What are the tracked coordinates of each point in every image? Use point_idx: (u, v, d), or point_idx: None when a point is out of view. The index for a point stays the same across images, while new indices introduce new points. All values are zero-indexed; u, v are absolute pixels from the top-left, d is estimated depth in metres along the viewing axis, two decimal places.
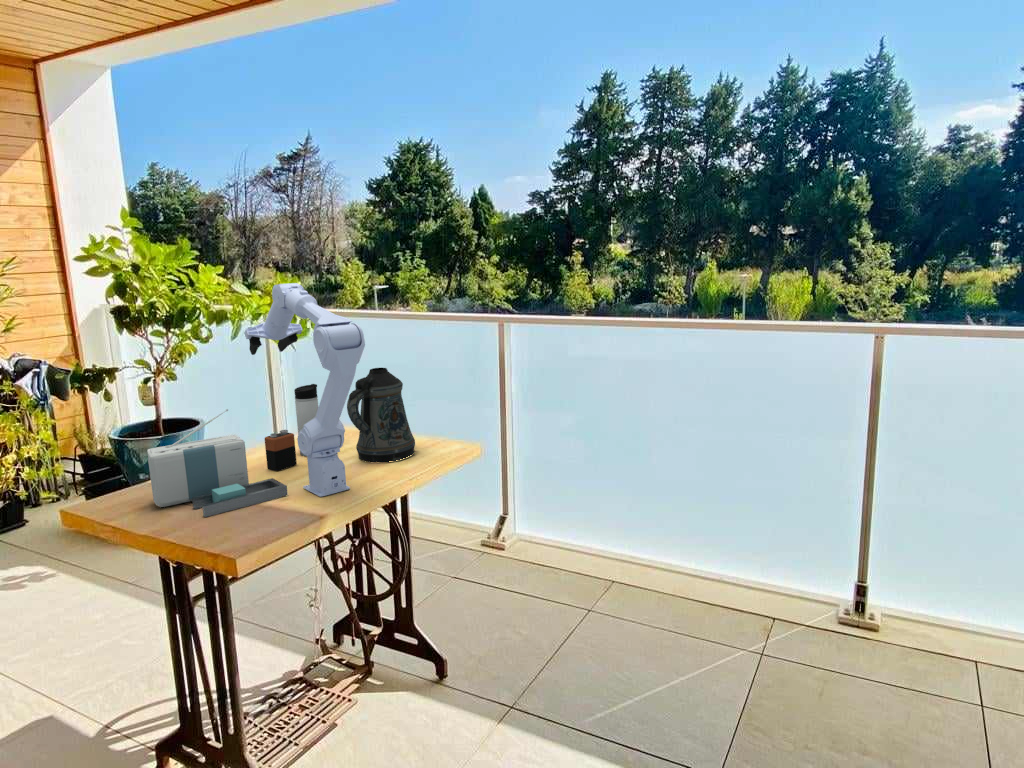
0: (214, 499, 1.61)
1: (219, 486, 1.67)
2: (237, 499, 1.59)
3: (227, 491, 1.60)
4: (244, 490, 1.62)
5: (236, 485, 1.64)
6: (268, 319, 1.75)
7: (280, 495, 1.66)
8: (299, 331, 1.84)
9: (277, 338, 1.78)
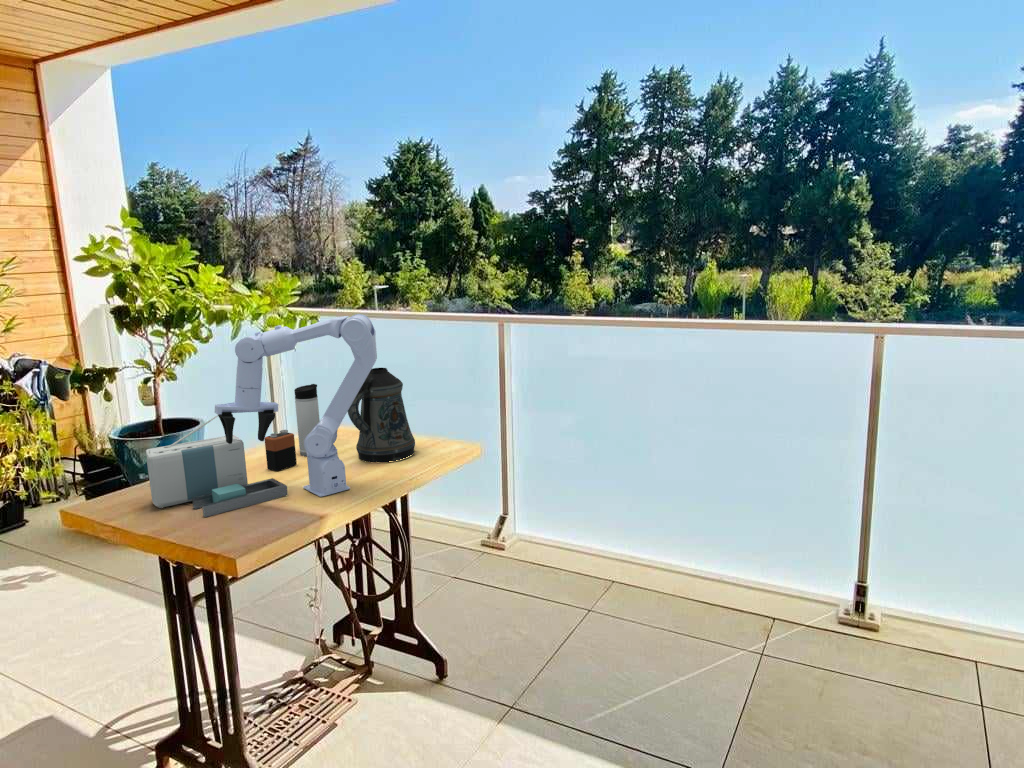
0: (214, 499, 1.61)
1: (218, 486, 1.67)
2: (237, 499, 1.59)
3: (227, 491, 1.60)
4: (244, 490, 1.62)
5: (236, 485, 1.64)
6: (236, 386, 1.64)
7: (280, 495, 1.66)
8: (275, 406, 1.70)
9: (250, 407, 1.64)
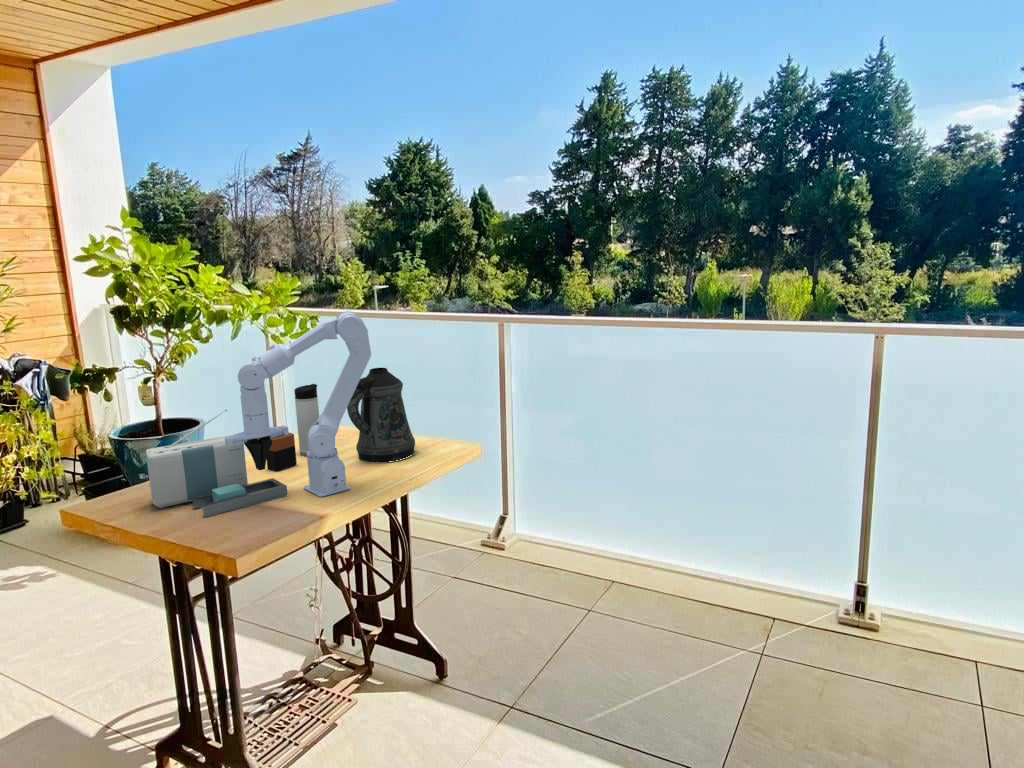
0: (214, 499, 1.61)
1: (218, 486, 1.67)
2: (237, 499, 1.59)
3: (226, 491, 1.60)
4: (244, 490, 1.62)
5: (236, 485, 1.64)
6: (243, 415, 1.62)
7: (280, 495, 1.66)
8: (285, 429, 1.68)
9: (260, 434, 1.62)
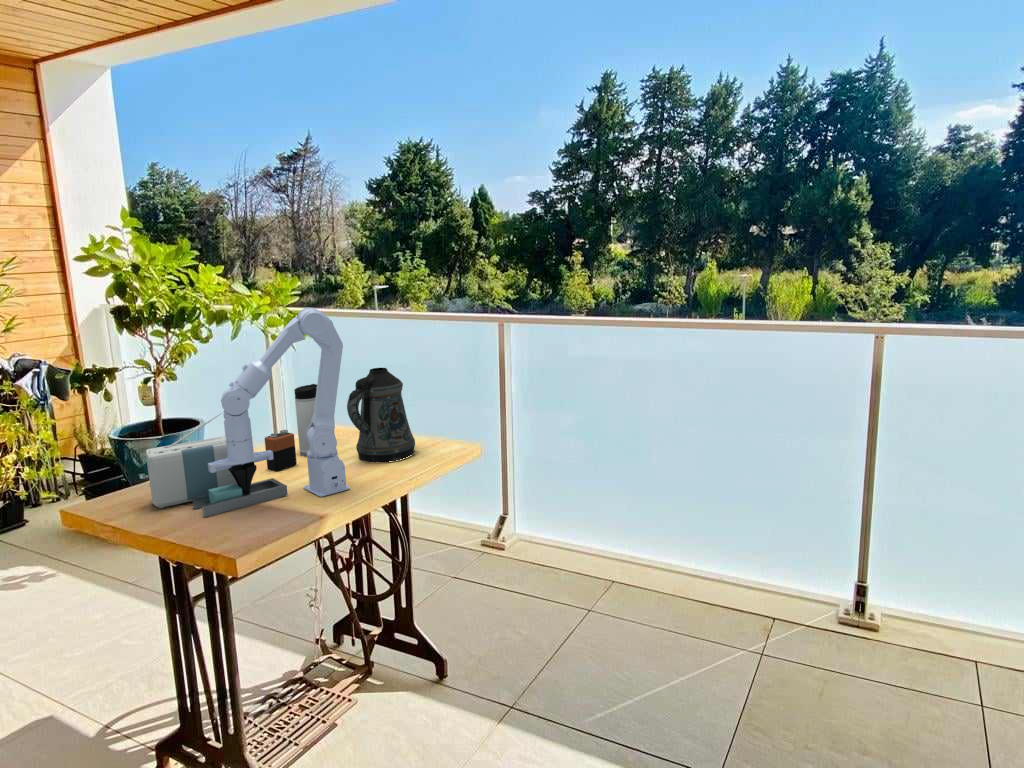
0: (211, 499, 1.61)
1: (218, 486, 1.67)
2: (237, 499, 1.59)
3: (223, 491, 1.59)
4: (240, 490, 1.61)
5: (233, 485, 1.63)
6: (226, 441, 1.60)
7: (280, 495, 1.66)
8: (270, 454, 1.66)
9: (244, 460, 1.60)
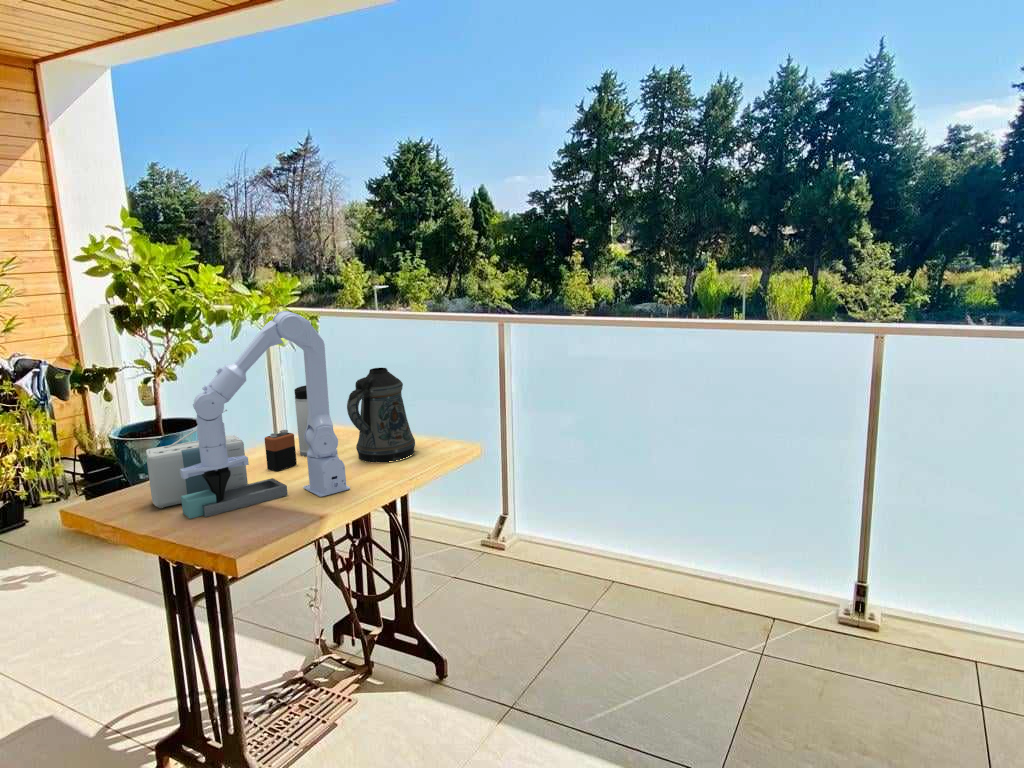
0: (183, 506, 1.57)
1: None
2: (237, 499, 1.59)
3: (196, 498, 1.55)
4: (214, 497, 1.57)
5: (207, 491, 1.60)
6: (199, 446, 1.56)
7: (280, 495, 1.66)
8: (245, 460, 1.62)
9: (217, 466, 1.56)
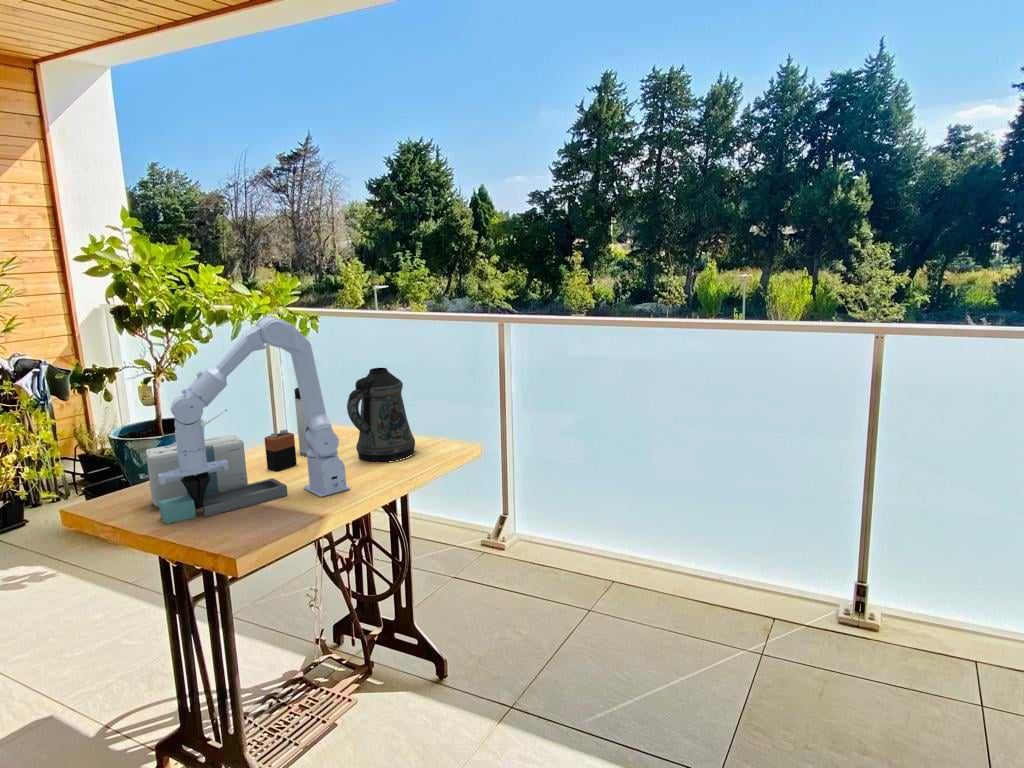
0: (161, 511, 1.54)
1: (218, 486, 1.67)
2: (237, 499, 1.59)
3: (174, 503, 1.52)
4: (192, 502, 1.54)
5: (185, 496, 1.57)
6: (177, 451, 1.53)
7: (280, 495, 1.66)
8: (225, 464, 1.59)
9: (196, 471, 1.53)
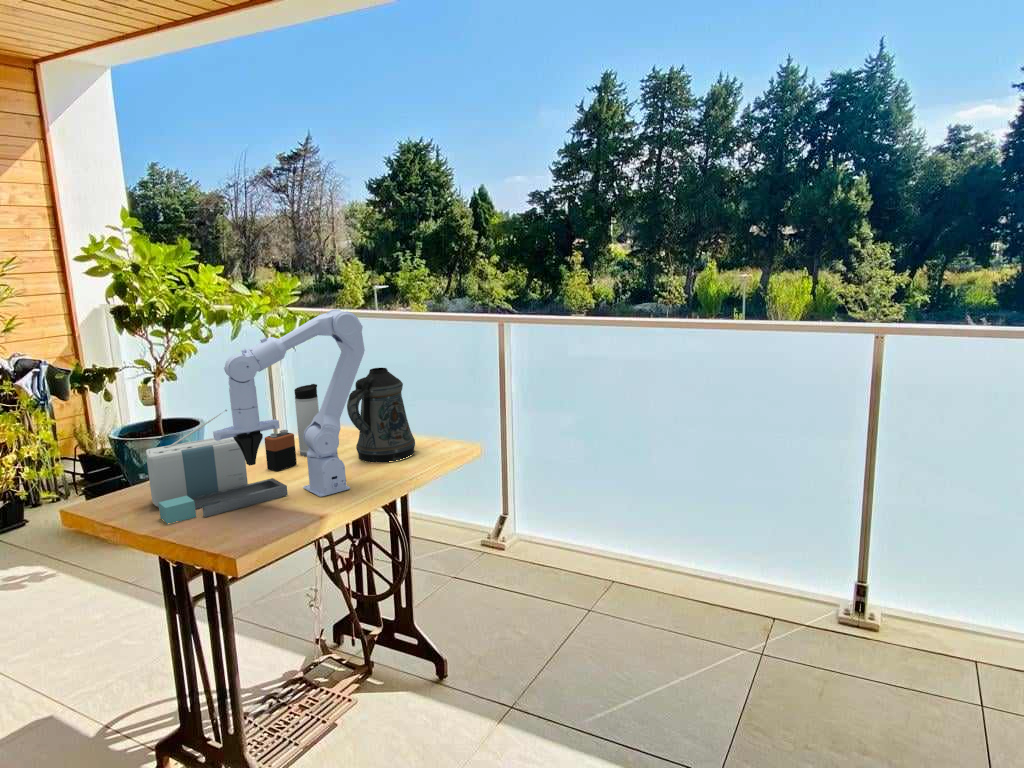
0: (161, 512, 1.54)
1: (218, 486, 1.67)
2: (237, 499, 1.59)
3: (174, 504, 1.52)
4: (193, 503, 1.54)
5: (185, 497, 1.57)
6: (232, 409, 1.57)
7: (280, 495, 1.66)
8: (276, 423, 1.63)
9: (250, 428, 1.57)
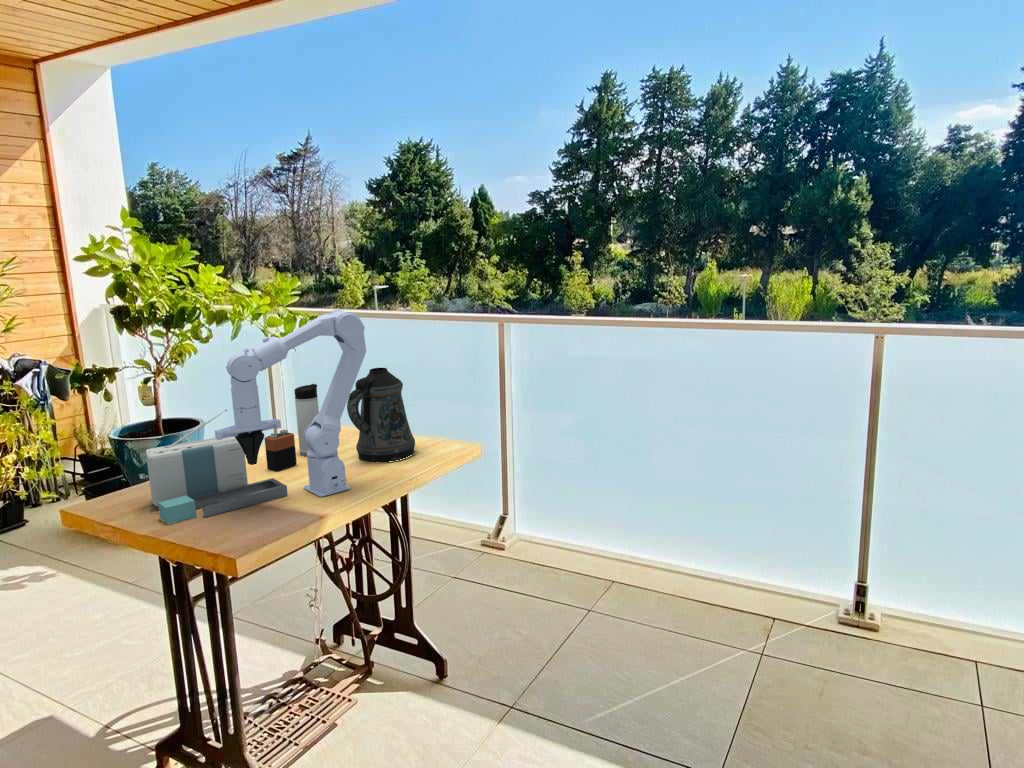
0: (161, 512, 1.53)
1: (218, 486, 1.67)
2: (237, 499, 1.59)
3: (174, 504, 1.52)
4: (193, 502, 1.55)
5: (184, 497, 1.57)
6: (233, 408, 1.57)
7: (280, 495, 1.66)
8: (277, 423, 1.64)
9: (251, 427, 1.58)
